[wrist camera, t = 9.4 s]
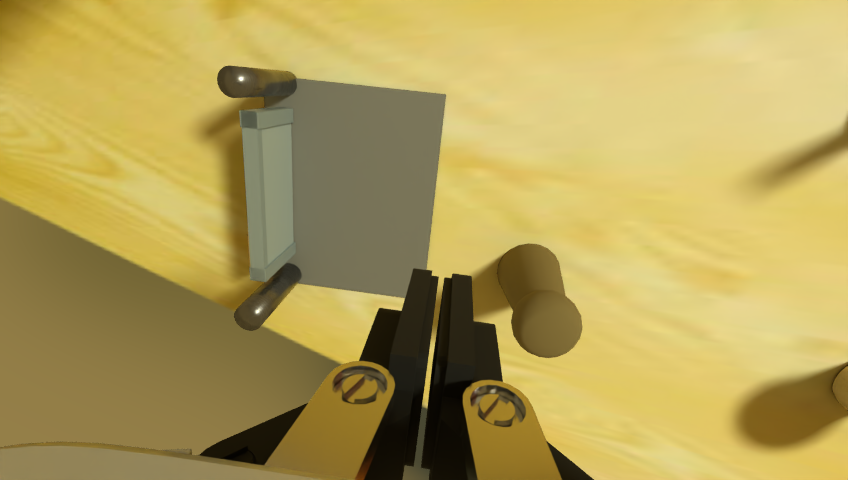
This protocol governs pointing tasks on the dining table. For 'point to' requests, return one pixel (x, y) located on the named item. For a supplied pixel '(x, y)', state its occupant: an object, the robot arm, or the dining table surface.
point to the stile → (267, 297)
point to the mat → (362, 183)
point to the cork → (539, 301)
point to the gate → (268, 188)
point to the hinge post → (255, 82)
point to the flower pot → (841, 388)
